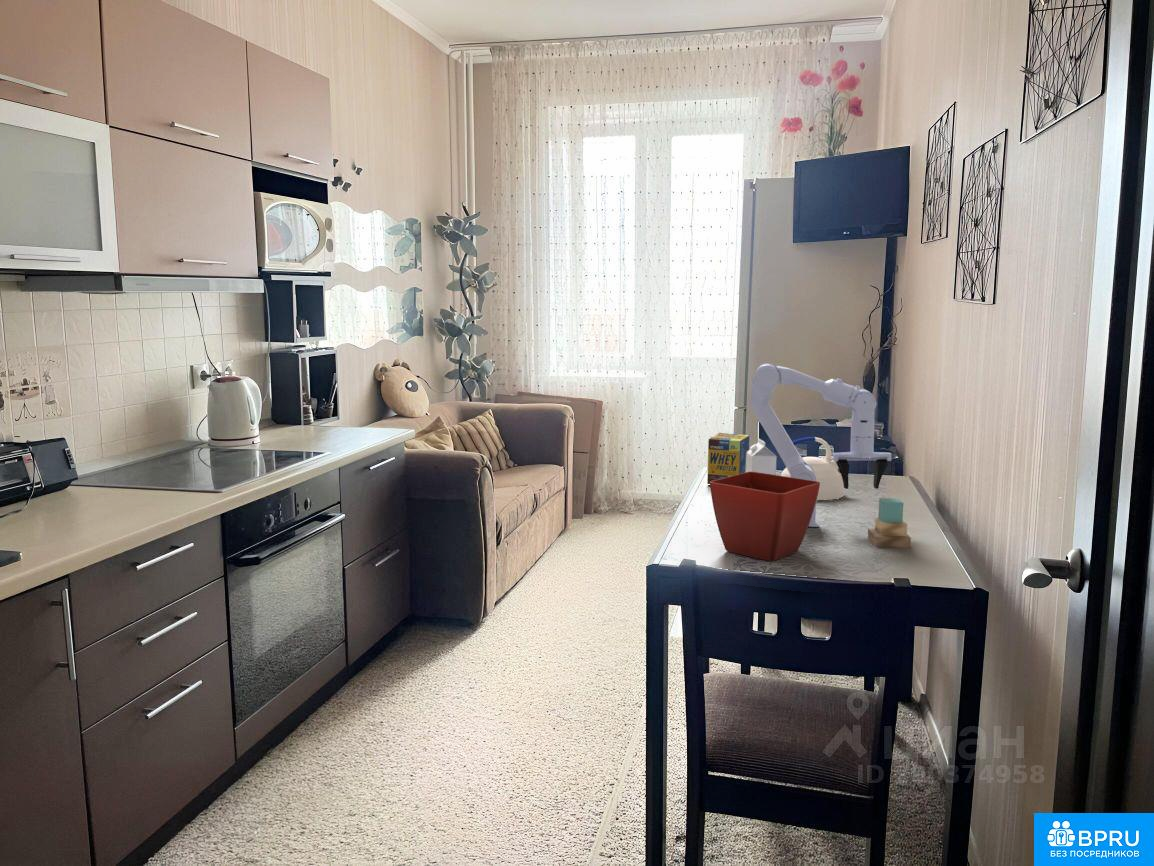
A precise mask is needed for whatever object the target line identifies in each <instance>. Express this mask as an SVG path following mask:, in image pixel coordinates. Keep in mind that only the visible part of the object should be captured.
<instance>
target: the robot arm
mask: <svg viewBox="0 0 1154 866" xmlns="http://www.w3.org/2000/svg"><path fill="white" fill-rule="evenodd" d="M779 382H780V384H779ZM778 384H779V385H780V386H786V385H791V384H793V385H795V386H798V387H801V388H805V389H808V390H811V391H814V392H817V393H820V394H821V396H822V398H823V400H824V401H827V402H829V403H830V402H831V403H833V404H836V405H839V406H842V407H844V408H852V409H851V411H852V413H851V419H850V448H849V449H850V451H845V452H832V458H831V461H832V460H833V461H836V464H837V466H838V468H839V469H838V471H839V473H840V474H841V476H842V479H843V485H844V490H845V489H846V490H847V489H849V473H850V472H849V471H850V464H849V462H851V461H853V462H854V461H858V462H860V461H865V462H866V461H868V462H869V461H872V462H873V488H874V489H877V490H878V489H879V488H880V482H881V479H882V477H883V475H884V472H885V471H886V469H887V468H888V465H889V462H891V461H892V453H891V452H885V451H884V452H882V451H881V452H880V451H874V450H875V449H874V447H875V446H874V444H875V443H874V442H875V409H876V407H877V404H878V402H877V399H876V397H875V395H874V394H873V393H871V391H869V390H867V389H865V388H861V386H860V385H855V386H854V385H851V384H848V383H845V382H843V379H841V378H838V377H837V378H836V379H835V378H831V379H828V380H826V381H824V380H822V379H819V378H816V377H814V376H811V375H809V374H805V373H803V372H801V371H798V370H796V369H793V368H789V367H785V366H781V365H774V364H771V363H768V362H767V363H762V364H761V365H758V367H757V368H756V370H755V372H754V375H753V377H752V380H751V385H750V386H751V387H750V396H749V397H750V399H749V406H750V408H751V410H752V411H753V413H754V415H755V417H756V418H757V420H758V421H759V423H760V425H761V426H762V427H763V430H764V431H765V433H766V435H767V436H768V438H769V440H770V442H771V443H772V445H773V447H774V448H775V450H776V451H777V453H778V455H779V456H780V458H781V460H782V462H783V464H784V466H785V468H786V467H787V470H788V471H789V473H790V475H791V478H798V479H804V480H811V481H816V476H815V473H814V470H813V468H812V467H811V466H810V465H808V464H807V463H805V461H804V460H803V457H802V455H801V454H800V453H799V451H798V450H797V447H796V446H795V445H794V444H793V442H792V441H793V440H792V439H791V437H790V435H788V434H789V433H787V431H786V429H785V427H784V426H783V424H782V422H781V421H780V419H779V417H778V415H777V414H776V413H775V411H774V409H773V407H772V406H771V404H770V400H771V397H772V392H773V391H774V390H775V388H776V387H777V385H778ZM816 512H817V502H816V503H815V507H814V510H813V514H812V517H811V520H810V523H809V525H808V528H819V527H820V524H819V523H818V522H817V520H816V518H817V513H816Z"/></svg>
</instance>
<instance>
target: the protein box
mask: <svg viewBox="0 0 1154 866" xmlns="http://www.w3.org/2000/svg"><path fill="white" fill-rule="evenodd" d="M707 442H708V445H707V447H708V448H707V449H708V450H707V483H706V485H707V484H710V481H713V480H717V479H721V478H725V477H729V476H733V475H737V474H741V473H745V472H746V456H747V452H748V451H749V450H750V435H748V434H739V433H738V434H737V433H726V432H724V433H723V432H719V433H717V434H715V435H713V436H711V437H710V438H708V441H707Z"/></svg>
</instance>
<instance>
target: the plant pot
mask: <svg viewBox="0 0 1154 866" xmlns="http://www.w3.org/2000/svg"><path fill="white" fill-rule="evenodd" d="M819 487H820V482H817V481H811V480H804V479H798V478H791V477H785V476H781V475H777V474H776V475H772V474H765V473H758V472H745V473H741V474H737V475H733V476H729V477H725V478H721V479H717V480H713V481H710V486H709V488H710V495H711V500H712V501H711V502H712V507H713V508H712V509H713V512H714V517H715V520H716V524H717V528H718V533H719V536H720V538H721V541H722V544H723V547H724V549H725V551H726V552H729V553H734V554H738V555H742V556H747V557H749V558H754V559H758V560H759V559H760V560H763V561H767V562H775V561H777V560H780V559H782V558H784V557H787V556H789V555H790V556H791V555H792V554H794V553H796V552H798V551H799V549H800V547H801V545H802V543H803V540H804V538H805V536H806V533H807V530H808V528H809V527H808V525H809V523H810V520H811V517H812V514H813V510H814V507H815V503H816V504H817V501H816V500H817V496H818V492H819Z"/></svg>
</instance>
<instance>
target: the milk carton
mask: <svg viewBox="0 0 1154 866" xmlns="http://www.w3.org/2000/svg"><path fill="white" fill-rule="evenodd" d="M777 457H778V456H777V455H776V454H775V453H774V452H773V451H771V450H770V449H769V448H768V447H767V446H766V442H765V441H764V440H762V439H761V438H758V442H757V443H754V444H752V445H751V446H749V451H748V452H747V456H746V472H758V473H765V474H772V475H777Z"/></svg>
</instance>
